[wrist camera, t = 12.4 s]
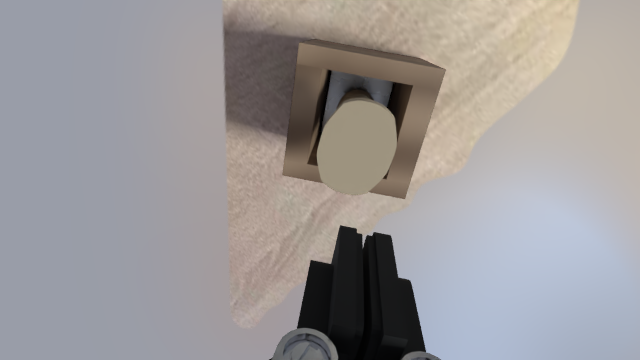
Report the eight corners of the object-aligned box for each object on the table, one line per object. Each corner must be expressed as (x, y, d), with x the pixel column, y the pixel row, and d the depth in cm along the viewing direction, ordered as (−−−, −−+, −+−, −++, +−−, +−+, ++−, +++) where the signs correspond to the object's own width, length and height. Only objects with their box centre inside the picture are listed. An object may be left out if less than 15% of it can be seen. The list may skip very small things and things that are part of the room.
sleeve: (315, 39, 33) (299, 42, 24) (421, 58, 33) (445, 69, 24) (300, 140, 38) (282, 175, 29) (393, 158, 38) (404, 199, 29)
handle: (326, 125, 36) (308, 183, 22) (343, 66, 33) (333, 91, 19) (368, 137, 36) (375, 202, 22) (388, 79, 33) (410, 113, 20)
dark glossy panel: (333, 61, 34) (333, 62, 33) (394, 72, 34) (395, 74, 33) (322, 129, 37) (321, 131, 36) (377, 139, 37) (377, 142, 36)
